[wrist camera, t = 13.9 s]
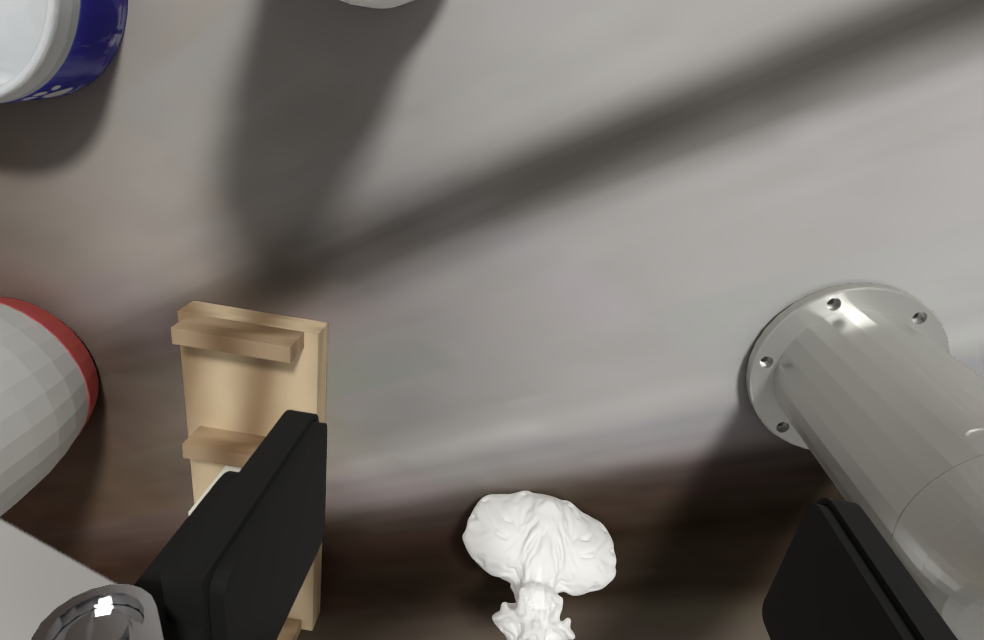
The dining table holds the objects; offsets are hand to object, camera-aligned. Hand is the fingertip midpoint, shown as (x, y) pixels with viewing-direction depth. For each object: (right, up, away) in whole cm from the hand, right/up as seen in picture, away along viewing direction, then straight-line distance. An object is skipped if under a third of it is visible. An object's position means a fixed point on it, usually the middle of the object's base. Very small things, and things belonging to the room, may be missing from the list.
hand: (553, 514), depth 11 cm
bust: (+3, -13, +37) cm, 39 cm away
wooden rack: (-20, -9, +37) cm, 43 cm away
